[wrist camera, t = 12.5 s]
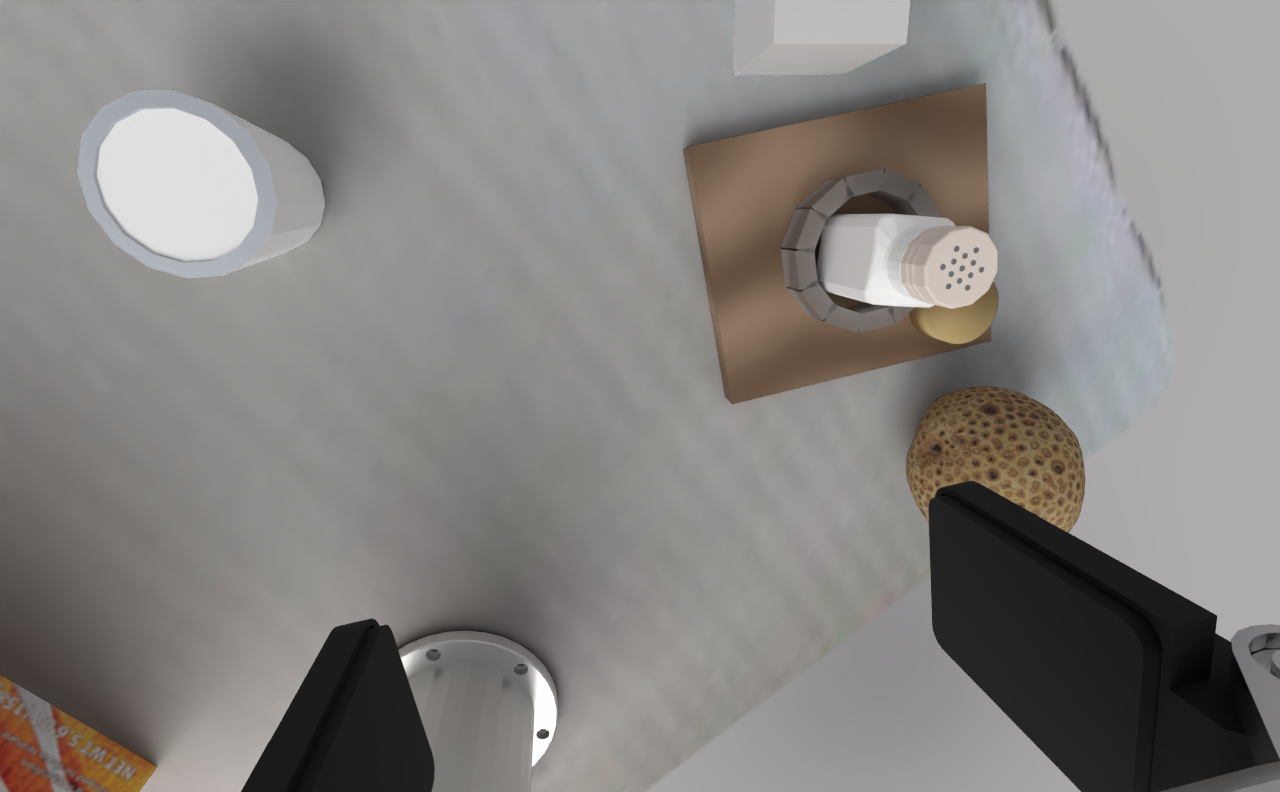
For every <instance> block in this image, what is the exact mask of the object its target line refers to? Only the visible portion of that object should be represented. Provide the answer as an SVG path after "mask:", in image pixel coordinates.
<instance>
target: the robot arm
mask: <svg viewBox="0 0 1280 792" xmlns="http://www.w3.org/2000/svg"><path fill="white" fill-rule="evenodd" d="M929 537H930V567H931V596H932V625H933V631H934V635H935V637H936V639H937V641H938V643H939V645H940V646H941V647H942V649H943V650H944V651H945V652H946V653H947V654H948V655H949V656H950V657H951V658H952V659H953V660H954V661H955V662H956V663H957V664H958V665H959V666H960V667H961V668H962V669H963V670H964V672H965V673H967V675H968V676H970V678H971V679H972V680H973V681H974V682H975V683H976V684H977V685H978V686H979V687H980V688H981V689H982V690H983V691H984V692H985V693H986V694H987V695H988V696H989V697H990V698H991V699H992V700H993V701H994V702H995V703H996V704H997V705H998V706H999V707H1000V708H1001V710H1002V711H1003V712H1004V713H1005V714H1006V715H1007V716H1008V717H1009V718H1010V719H1011V720H1012V721H1013V722H1014V723H1015V724H1016V725H1017V726H1018V727H1019V728H1020V729H1021V730H1022V731H1023V732H1024V733H1025V734H1026V735H1027V736H1028V737H1029V738H1030V739H1031V740H1032V741H1033V742H1034V743H1035V744H1036V746H1037V747H1038V748H1039V749H1040V750H1041V751H1042V752H1043V753H1044V754H1045V755H1046V756H1047V757H1048V758H1049V759H1050V760H1051V761H1052V762H1053V763H1054V764H1055V765H1056V766H1057V767H1058V768H1059V769H1060V770H1061V771H1062V772H1063V773H1064V774H1065V775H1066V776H1067V777H1068V778H1069V779H1070V780H1071V782H1072V783H1074V785H1075V786H1076V787H1077V788H1078V789H1079V790H1080V791H1081V792H1280V625H1271V624H1270V625H1257V626H1250V627H1247V628H1245V629H1242V630H1239V631H1238V632H1237V633H1236V634H1235V635H1234V636H1233V638H1232V639H1231V642H1230V641H1228V640H1226V639H1224V638H1223V637H1221V636H1219V635H1217V634H1216V633H1215V630H1216V622H1217V616H1216V615H1215V614H1213V613H1211V612H1209V611H1208V610H1206V609H1204V608H1202V607H1201V606H1198V605H1197V604H1195V603H1193V602H1191V601H1190V600H1188V599H1186V598H1184V597H1183V596H1181V595H1179V594H1177V593H1175V592H1173V591H1172V590H1170V589H1168V588H1166V587H1164V586H1163V585H1161V584H1159V583H1157V582H1156V581H1154V580H1152V579H1150V578H1148V577H1147V576H1145V575H1143V574H1141V573H1139V572H1137V571H1136V570H1134V569H1132V568H1130V567H1129V566H1127V565H1125V564H1123V563H1121V562H1120V561H1118V560H1116V559H1114V558H1112V557H1110V556H1109V555H1107V554H1105V553H1103V552H1102V551H1100V550H1098V549H1096V548H1094V547H1093V546H1091V545H1089V544H1087V543H1086V542H1084V541H1082V540H1080V539H1078V538H1076V537H1075V536H1073V535H1071V534H1069V533H1068V532H1066V531H1064V530H1062V529H1060V528H1059V527H1057V526H1055V525H1053V524H1051V523H1050V522H1048V521H1046V520H1044V519H1042V518H1041V517H1039V516H1037V515H1035V514H1033V513H1032V512H1030V511H1028V510H1026V509H1024V508H1023V507H1021V506H1019V505H1017V504H1015V503H1014V502H1012V501H1010V500H1008V499H1006V498H1005V497H1003V496H1001V495H999V494H997V493H996V492H994V491H992V490H990V489H988V488H987V487H985V486H983V485H981V484H980V483H978V482H975V481H967V482H962V483H958V484H954V485H949V486H945V487H941V488H939V489H938V490H937V492H936V494H935V497H934V498H932V499H931V500H930V502H929ZM557 721H558V699H557V691H556V688H555V685H554V682H553V679H552V677H551V675H550V674H549V672H548V670H547V669H546V667H545V666H544V665H543V664H542V662H541V661H540V660H539V659H538V658H537V657H536V656H535V655H534V654H533V653H531V652H530V651H528V650H527V649H525V648H524V647H523V646H521V645H520V644H517V643H515V642H513V641H511V640H509V639H506V638H504V637H501V636H497V635H493V634H490V633H486V632H475V631H452V632H444V633H439V634H435V635H430V636H426V637H424V638H421V639H419V640H416V641H414V642H411V643H409V644H407V645H406V646H404V647H402V648H401V649H399V650H398V648H397V645H396V642H395V639H394V636H393V633H392V630H391V628H390V627H389V626H388V625H383V626H379V624H378V622H377V621H376V620H375V619H368V620H363V621H359V622H354V623H350V624H346V625H341V626H337V627H335V628H334V629H333V630H332V631H331V633H330V634H329V636H328V638H327V640H326V642H325V643H324V645H323V647H322V649H321V651H320V652H319V654H318V656H317V658H316V660H315V661H314V663H313V665H312V667H311V668H310V670H309V672H308V674H307V676H306V677H305V679H304V681H303V683H302V685H301V686H300V688H299V690H298V692H297V694H296V695H295V697H294V699H293V701H292V702H291V704H290V706H289V708H288V710H287V711H286V713H285V715H284V717H283V719H282V720H281V722H280V724H279V726H278V728H277V729H276V731H275V733H274V735H273V736H272V738H271V740H270V741H269V743H268V744H267V746H266V748H265V750H264V752H263V753H262V755H261V757H260V759H259V761H258V762H257V764H256V766H255V768H254V770H253V771H252V773H251V775H250V777H249V778H248V780H247V782H246V784H245V786H244V787H243V789H242V791H241V792H531V781H532V767H533V766H534V765H535V764H536V763H537V762H538V761H539V759H540V758H541V757H542V756H543V755H544V753H545V752H546V751H547V749H548V747H549V745H550V743H551V741H552V740H553V737H554V734H555V730H556V727H557Z"/></svg>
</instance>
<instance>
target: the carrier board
mask: <svg viewBox="0 0 1280 792" xmlns="http://www.w3.org/2000/svg"><path fill="white" fill-rule="evenodd" d="M683 151H684V157H685V163H686V169H687V175H688V180H689V186H690V192H691V198H692V204H693V210H694V216H695V222H696V227H697V233H698V239H699V245H700V251H701V257H702V263H703V269H704V275H705V280H706V286H707V292H708V298H709V304H710V310H711V316H712V322H713V328H714V333H715V339H716V345H717V351H718V357H719V363H720V369H721V375H722V380H723V386H724V392H725V397H726V398H727V399H728V400H729V401H730V402H731V403H732V404H735V403H739V402H743V401H747V400H751V399H755V398H759V397H763V396H768V395H772V394H776V393H780V392H784V391H788V390H792V389H796V388H800V387H804V386H808V385H812V384H817V383H821V382H825V381H829V380H833V379H837V378H841V377H845V376H849V375H853V374H857V373H861V372H866V371H870V370H874V369H878V368H882V367H886V366H890V365H894V364H898V363H902V362H906V361H910V360H915V359H919V358H923V357H927V356H931V355H935V354H939V353H943V352H947V351H951V350H955V349H959V348H964V347H968V346H972V345H976V344H980V343H984V342H988V341H991V331H990V325H991V323H992V321H993V319H994V317H995V315H996V312H997V308H998V293H997V289H996V286H995V284H994V283H993V282H992V284H991V286H990V288H989V290H988V291H987V292H986V293H985V294H984V295H982V296H981V297H980V298H979V299H978V300H976V301H975V302H974V303H973V304H971V305H967V306H963V307H958V308H954V309H951V308H946V307H942V306H937V305H934V306H932V307H929V308H925V307H900V306H885V305H873V304H869V303H866V302H862V301H858V300H855V299H851V298H847V297H844V296H840V295H836V294H833V293H829V292H825V291H824V290H823V288H822V287H821V286H820V284H819V283H818V280H817V271H816V268H817V261H818V254H819V248H820V241H821V234H822V229H823V227H824V224H825V222H826V219H827V218H829V217H830V216H833V215H835V214H902V215H916V216H928V217H939V218H948V219H949V220H951V221H952V222H953V223H954V224H955V226H971V227H973V228H976V229H978V230H981V231H983V232H985V233H988V235H989V225H988V172H987V119H986V83H984V84H979V85H975V86H970V87H965V88H961V89H956V90H951V91H947V92H942V93H937V94H932V95H928V96H923V97H918V98H914V99H909V100H904V101H900V102H895V103H890V104H886V105H881V106H876V107H871V108H867V109H862V110H857V111H853V112H848V113H843V114H839V115H834V116H829V117H825V118H820V119H815V120H810V121H806V122H801V123H796V124H792V125H787V126H782V127H778V128H773V129H768V130H764V131H759V132H754V133H749V134H745V135H740V136H735V137H731V138H726V139H721V140H717V141H712V142H707V143H703V144H698V145H693V146H689V147H687V148H685V149H683Z"/></svg>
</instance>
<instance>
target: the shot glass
mask: <svg viewBox="0 0 1280 792" xmlns="http://www.w3.org/2000/svg"><path fill="white" fill-rule="evenodd" d="M77 176H78V179H79V182H80V185H81V188H82V191H83V195H84V198H85V201H86V204H87V207H88V210H89V212H90V213H91V215H92V216H93V217H94V219H95V220H96V221H97V222H98V224H99V225H100V226H101V228H102V229H103V230H104V232H105V233H106V234H107V236H108V237H109V238H110V239H111V241H112V242H113V243H114V244H115V245H116V246H118V247H119V248H121V249H122V250H124V251H125V252H126V253H128V254H129V255H131V256H132V257H134V258H135V259H137V260H138V261H140V262H141V263H142V264H144V265H145V266H147V267H149V268H152V269H156V270H159V271H162V272H166V273H169V274H173V275H176V276H179V277H183V278H199V277H215V276H223V275H226V274H229V273H231V272H234V271H237V270H240V269H242V268H245V267H248V266H250V265H253V264H256V263H259V262H261V261H264V260H267V259H269V258H272V257H275V256H278V255H280V254H283V253H286V252H289V251H291V250H293V249H295V248H297V247H298V246H300V245H302V244H304V243H306V242H308V241H309V240H310V239H311V237H312V236H313V235H314V233H315V232H316V231H317V229H318V228H319V227H320V225H321V222H322V218H323V213H324V208H325V198H324V193H323V188H322V183H321V179H320V178H319V176H318V175H317V173H316V171H315V170H314V168H313V167H312V165H311V163H310V162H309V160H308V159H307V158H306V157H305V156H304V155H303V154H301V153H300V152H299V151H298V150H296V149H295V148H294V147H293V146H291V145H290V144H289V143H288V142H286V141H284V140H283V139H281V138H279V137H277V136H275V135H273V134H271V133H269V132H267V131H265V130H263V129H261V128H259V127H257V126H255V125H253V124H251V123H250V122H248V121H246V120H244V119H242V118H240V117H238V116H236V115H234V114H232V113H230V112H228V111H226V110H224V109H222V108H220V107H219V106H217V105H215V104H213V103H210V102H207V101H204V100H201V99H199V98H196V97H193V96H190V95H187V94H185V93H182V92H179V91H176V90H173V89H171V90H136V91H131V92H130V93H128V94H126V95H124V96H122V97H120V98H118V99H116V100H114V101H112V102H110V103H108V104H106V105H104V106H102V107H100V109H99V110H98V112H97V113H96V115H95V116H94V118H93V119H92V121H91V122H90V124H89V125H88V127H87V128H86V130H85V131H84V132H83V134H82V135H81V139H80V148H79V157H78V166H77Z"/></svg>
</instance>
